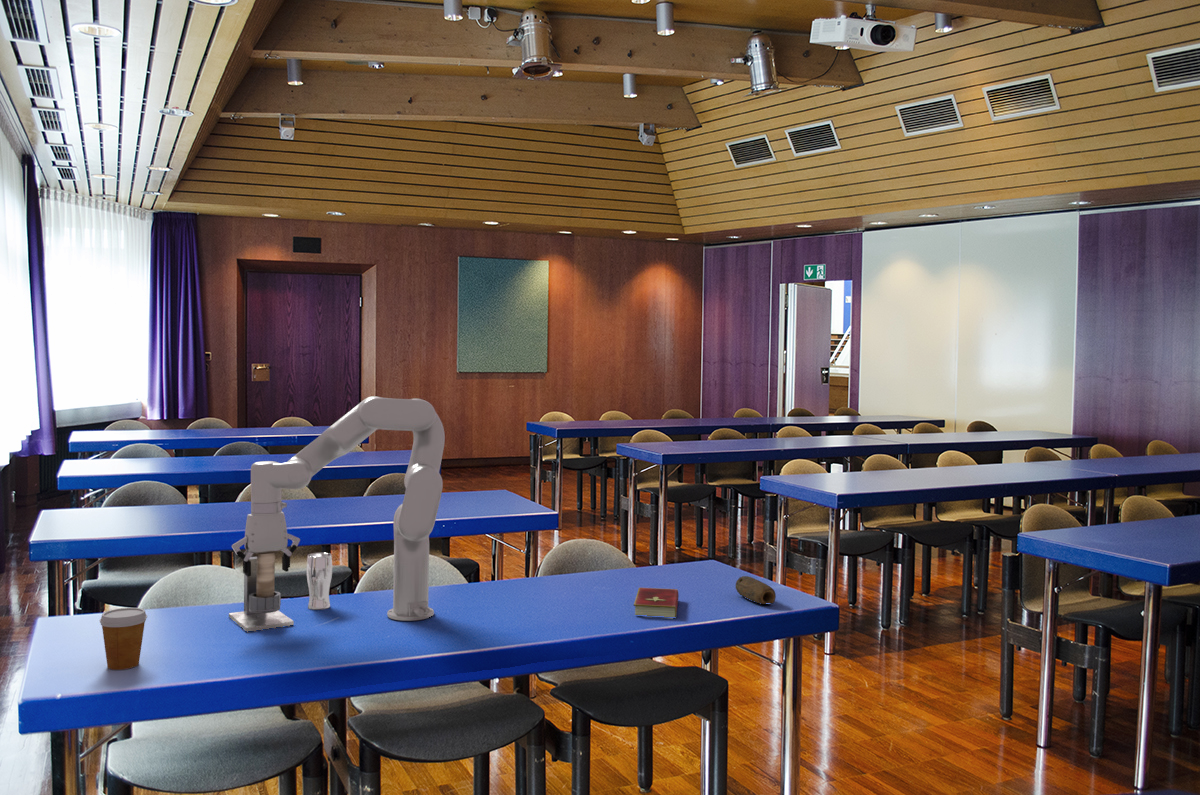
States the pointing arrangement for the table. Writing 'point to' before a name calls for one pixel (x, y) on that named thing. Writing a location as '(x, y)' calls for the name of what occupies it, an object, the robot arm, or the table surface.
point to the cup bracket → (259, 606)
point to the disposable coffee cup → (123, 636)
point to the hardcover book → (656, 602)
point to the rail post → (265, 574)
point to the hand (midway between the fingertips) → (266, 573)
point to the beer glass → (319, 580)
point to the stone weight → (755, 590)
